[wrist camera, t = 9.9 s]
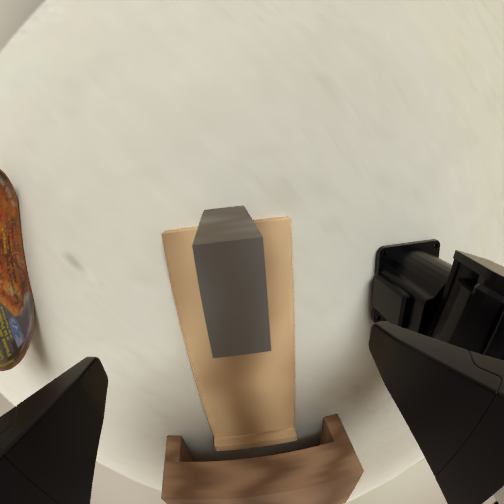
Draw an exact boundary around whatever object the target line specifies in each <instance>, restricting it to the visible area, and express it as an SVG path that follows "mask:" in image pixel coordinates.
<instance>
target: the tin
mask: <svg viewBox="0 0 504 504" xmlns="http://www.w3.org/2000/svg"><path fill="white" fill-rule="evenodd" d="M34 312H35V311H34V300H33V295H32V291H31V287H30V282H29V278H28V273H27V268H26V263H25V257H24V251H23V244H22V236H21V227H20V216H19V207H18V201H17V197H16V194H15V191H14V188H13V186H12V184H11V182H10V180H9V178H8V177H7V176H6V174H5V173H4V172H3V171H2V170H1V169H0V371H5V370H9V369H11V368H13V367H15V366H16V365H17V364H18V363H19V362H20V361H21V360H22V358H23V357H24V356H25V354H26V352H27V350H28V348H29V345H30V342H31V338H32V334H33V329H34Z"/></svg>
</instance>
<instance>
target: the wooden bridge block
mask: <svg viewBox="0 0 504 504" xmlns="http://www.w3.org/2000/svg"><path fill="white" fill-rule="evenodd" d="M363 472H364V470H363V468H362V466H361V464H360V462H359V459H358V457H357V455H356V453H355V451H354V448H353V446H352V444H351V442H350V440H349V438H348V435H347V433H346V431H345V429H344V427H343V425H342V422H341V420H340V418H339V416H338V414H335V415H331V416H327V417H324V422H323V428H322V434H321V440H320V445H319V446H315V447H311V448H306V449H302V450H297V451H292V452H287V453H281V454H275V455H269V456H262V457H255V458H247V459H237V460H225V461H208V462H194V460H193V458H192V456H191V454H190V453H189V451H188V449H187V447H186V445H185V443H184V441H183V439H182V437H181V436H167V444H166V453H165V463H164V473H163V484H162V497H161V498H162V499H163V500H164V501H165V502H166V503H167V504H343V503H346V501H347V500H348V498H349V496H350V495H351V493H352V491H353V490H354V488H355V486H356V484H357V483H358V481H359V479H360V477H361V475H362V474H363Z"/></svg>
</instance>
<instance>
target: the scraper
mask: <svg viewBox="0 0 504 504" xmlns="http://www.w3.org/2000/svg"><path fill="white" fill-rule="evenodd" d="M162 239H163V244H164V250H165V255H166V261H167V266H168V271H169V276H170V281H171V286H172V290H173V295H174V299H175V304H176V308H177V313H178V317H179V321H180V325H181V329H182V333H183V337H184V341H185V345H186V348H187V352H188V356H189V359H190V363H191V367H192V370H193V374H194V377H195V380H196V384H197V387H198V390H199V393H200V397H201V400H202V403H203V406H204V409H205V412H206V415H207V418H208V421H209V424H210V427H211V430H212V433H213V435H214V445H215V449H216V451H228V450H238V449H247V448H255V447H263V446H269V445H275V444H281V443H287V442H292V441H297V435H296V431H295V428H294V411H295V325H294V285H293V259H292V238H291V220H290V218H289V217H279V218H269V219H260V220H252V218H251V217H250V215H249V213H248V212H247V210H246V209H245V207H244V206H235V207H227V208H218V209H210V210H204V212H203V215H202V217H201V220H200V223H199V226H198V227H192V228H184V229H176V230H169V231H164V232H163V233H162Z"/></svg>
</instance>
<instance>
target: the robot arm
mask: <svg viewBox="0 0 504 504" xmlns="http://www.w3.org/2000/svg"><path fill="white" fill-rule="evenodd" d="M434 245H435V247H434ZM439 250H440V242H439V241H438V240H435V239H431V240H424V241H417V242H409V243H402V244H395V245H387V246H382V247H380V248H379V249H378V251H377V262H376V275H375V277H374V286H373V296H372V313H371V319H372V321H373V322H374V324H373V325H372V327H371V333H370V339H369V349H370V352H371V354H372V356H373V359H374V361H375V363H376V365H377V368H378V370H379V372H380V375H381V377H382V379H383V381H384V383H385V385H386V387H387V389H388V391H389V393H390V394H391V396H392V398H393V399H394V401H395V403H396V405H397V407H398V408H399V410H400V412H401V414H402V415H403V417H404V419H405V421H406V423H407V424H408V426H409V428H410V430H411V432H412V434H413V436H414V437H415V439H416V441H417V443H418V445H419V447H420V449H421V451H422V452H423V454H424V456H425V458H426V460H427V462H428V464H429V466H430V468H431V470H432V472H433V474H434V476H436V477H435V478H436V480H437V482H438V484H439V486H440V488H441V491H442V493H443V495H444V497H445V499H446V501H447V503H448V504H482V503H483V502H485V501H486V500H487V499H488V498H489V497H491V496H492V495H493V496H494V497H495V499H496V501H495V502H494V503H493V504H504V267H503V266H501V265H499V264H496V263H494V262H492V261H490V260H487V259H484V258H481V257H478V256H474V255H471V254H468V253H464V252H461V251H458V250H455V254H454V257H453V258H454V262H453V265H451V264H449V263H447V262H445V261H443V260H441V259H439ZM384 251H385V254H384V255H382V254H383V252H384ZM378 315H379V316H378ZM377 316H378V317H377ZM376 317H377V318H376ZM385 321H388V322H389V323H388V322H385ZM107 387H108V377H107V374H106V372H105V370H104V368H103V366H102V363H101V361H100V359H99V358H97V357H86V358H84V359H83V360H82V361H80V362H79V363H77V364H76V365H74V366H73V367H71V368H70V369H69V370H67V371H66V372H64V373H63V374H61V375H60V376H58V377H57V378H56V379H54V380H53V381H51V382H50V383H48V384H47V385H46V386H44V387H43V388H41V389H40V390H38V391H37V392H36V393H34V394H33V395H31V396H30V397H28V398H27V399H25V400H24V401H23V402H21V403H20V404H18V405H17V407H14V408H13V409H11V410H10V411H9V412H7V413H6V414H4V415H3V416H1V417H0V504H90V499H91V489H92V482H93V475H94V468H95V462H96V456H97V450H98V445H99V439H100V434H101V429H102V425H103V419H104V412H105V403H106V394H107Z"/></svg>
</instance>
